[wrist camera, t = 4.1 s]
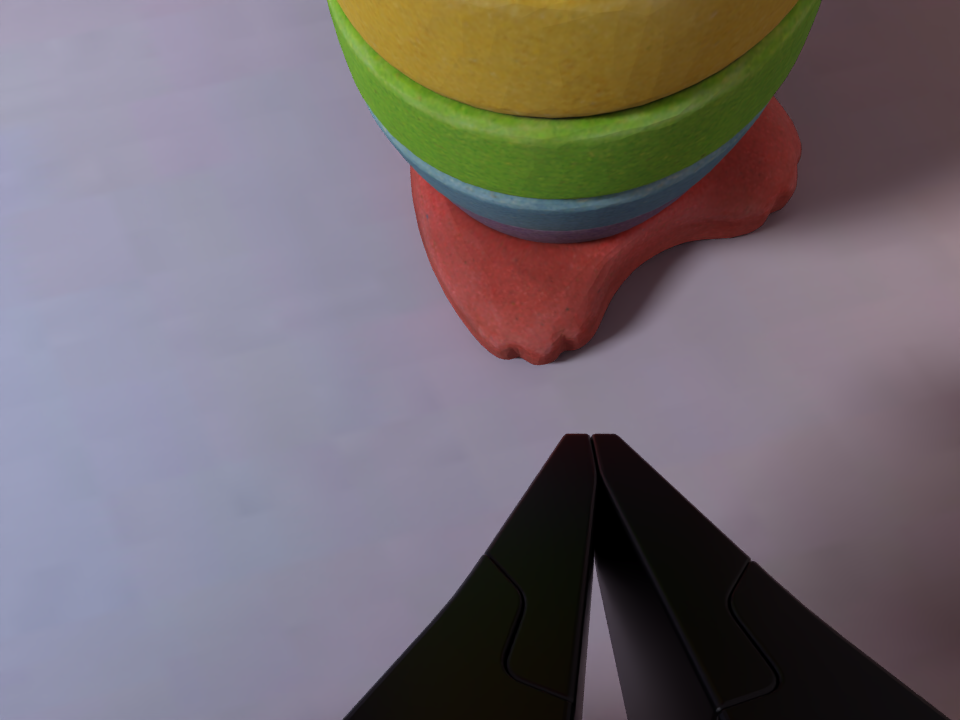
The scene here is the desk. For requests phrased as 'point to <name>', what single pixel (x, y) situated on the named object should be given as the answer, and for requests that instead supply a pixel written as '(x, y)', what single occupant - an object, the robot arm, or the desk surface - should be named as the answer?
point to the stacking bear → (575, 141)
